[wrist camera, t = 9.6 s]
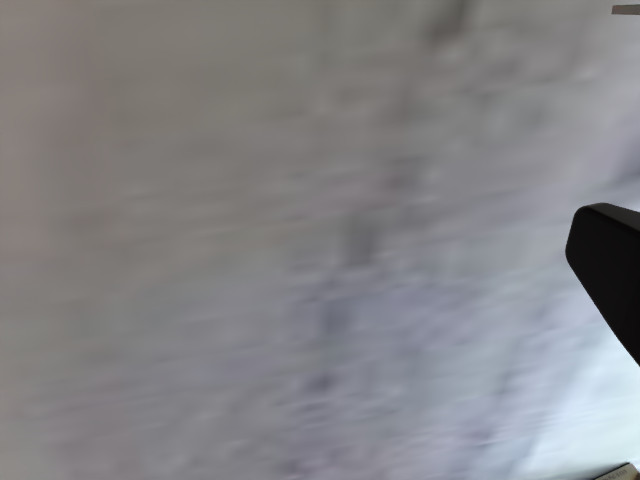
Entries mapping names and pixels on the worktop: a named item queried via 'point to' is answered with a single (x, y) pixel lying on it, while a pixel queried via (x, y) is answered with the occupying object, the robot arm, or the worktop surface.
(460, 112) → the worktop surface
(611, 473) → the coffee box
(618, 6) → the food container
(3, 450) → the worktop surface
